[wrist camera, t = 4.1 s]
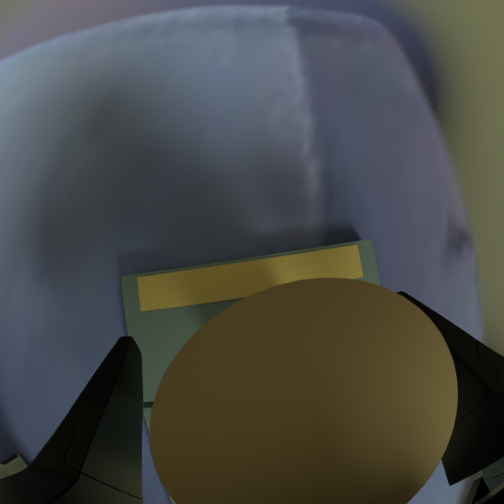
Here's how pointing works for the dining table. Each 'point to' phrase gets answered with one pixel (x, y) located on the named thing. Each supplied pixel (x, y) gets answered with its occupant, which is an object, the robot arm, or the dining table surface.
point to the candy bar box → (12, 465)
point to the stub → (290, 380)
